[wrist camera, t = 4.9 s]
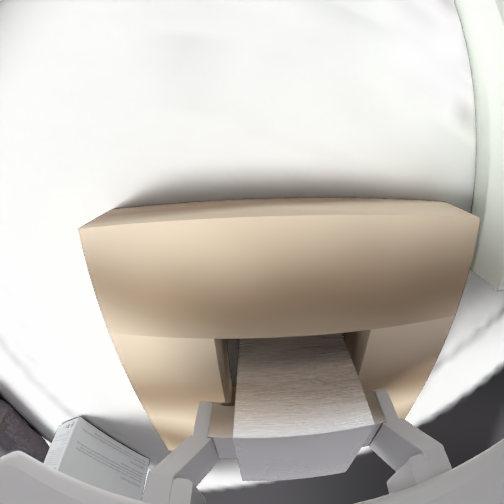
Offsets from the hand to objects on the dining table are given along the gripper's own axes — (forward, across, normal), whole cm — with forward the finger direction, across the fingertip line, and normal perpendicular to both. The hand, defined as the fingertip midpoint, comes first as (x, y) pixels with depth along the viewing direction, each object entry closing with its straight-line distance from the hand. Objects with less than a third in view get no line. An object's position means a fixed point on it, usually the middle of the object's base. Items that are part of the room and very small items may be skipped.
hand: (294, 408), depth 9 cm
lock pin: (+4, 0, 0) cm, 4 cm away
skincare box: (+4, +16, +14) cm, 22 cm away
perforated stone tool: (+4, +32, +16) cm, 36 cm away
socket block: (+4, 0, 0) cm, 4 cm away
